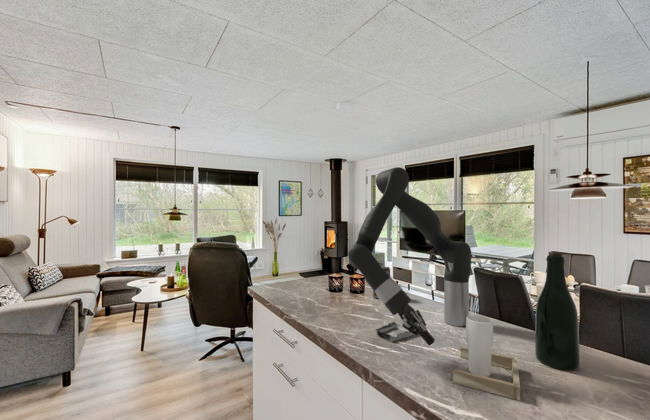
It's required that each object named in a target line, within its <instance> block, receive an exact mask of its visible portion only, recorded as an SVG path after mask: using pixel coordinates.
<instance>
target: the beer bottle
mask: <svg viewBox="0 0 650 420" xmlns="http://www.w3.org/2000/svg"><path fill="white" fill-rule="evenodd" d="M545 260H546V278H545V282H544V285H543V288H542V290H541V292H540V295H539V296H538V298H537V300H536V301H537V302H536V305H535V322H534V324H535V326H534V327H535V328H534V329H535V330H534V331H535V332H534V352H535V353H534V355H535V358H536V359H537V360H538V362H540V363H542V364H543V365H546V366H547V367H551V368H554V369H558V370H561V371H575V370H578V369H579V368H580V362H581V361H580V359H581V358H580V357H581V356H580V355H581V354H580V334H579V331H580V330H579V316H578V310H577V305H576V302H575V300H574V298H573V296H572V295H571V292H570V289H569V287H568V284H567V279H566V271H565V270H566V269H565V267H566V265H565V263H566V259H565V256H563V252H561V251H548V254H547V256H546V259H545Z"/></svg>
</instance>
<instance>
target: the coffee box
mask: <svg viewBox="0 0 650 420" xmlns="http://www.w3.org/2000/svg"><path fill="white" fill-rule="evenodd" d="M381 267H382V268H383V269H384V270H385V271H386V272H387V274H388V275H389V276H390V277H391V268H390V267H389V266H381ZM372 296H373V297H372V298H379V297H378V296H377V294H376V293H375V291H374V290H373V289H372Z"/></svg>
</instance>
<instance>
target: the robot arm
mask: <svg viewBox="0 0 650 420" xmlns="http://www.w3.org/2000/svg"><path fill="white" fill-rule="evenodd" d="M409 183H410V175H409V174H408V172H407V171H406V170H405V169H404V168H403V167H393V168H389V169H386V170H383V171H381V172H380V173H377V175H376V177H375V184H376V188H377V189H378V192H380V193H381V194H382V196H381V197H380V199H379V200H378V202H376V203H375V204H374V207H372V208H371V210H370V211H369V212H368V214H367V215H366V217H365V219H364V220H363V222H362V225H361V227H360V228H359V231H358V234H357V235H358V236H357V239H356V241H355V244H354V245H352V246H351V247H350V249H348V250H349V251H348V254H347V255H348V261H349V263H350V266H351V267H353V268H355V269H357V270H358V271H359V272H360V273H361V274H362V276H363V278H364V280H365V281H366V282H367V285H369V287H370V288H371V289H372V291H373V290H374V291H375V293H376V294H377V296H378V297H379V299H378V300H380V302H382V304H383V305H384V306H385V307H386V308H387V310H388V311H389V313H390V314H391V315H393V316H396V315H398V316H399V318H400V319H401V320H402V322H403V323H402V325H401V326H403V327H404V328H405V329H407V330H408V331H410V332H411V333H413V334H414V335H413V336H415V337H417V336H420V337H421V339H423V341H424V342H425V343H426V344H427V345H428V346H431V345H433V344H434V343H435V341H436V339H435V337H434V336H432V334H431V333H430V332H429V331H428V329H427V323H426V321H425V320H424V317H423V316H422V314H421V312H420V310H419V309H415V308H413V307H412V306H411V305H410V302H412V299H411V297H410V296H409V295H408V294H407V293H406V292H405V291H404V290H403V288H402V287H401V286H400V285H399V284H398V282H396V281H395V280H394V279H393V278H392V277H391V275H390V276H389V275H388V274H387V272H386V271H385V270H384V269H383V268H382V267H383V266H381V265H380V263H379V262H378V260H377V259H376V257H375V256H374V255H373V253H374V249H375V246H376V244H377V242H378V240H379V238H380V236H381V233H382V232H383V229H384V226H385V225H386V222H387V220H388V219H389V217H390V215H391V213H392V211H393V210H394V208H395V207H396V208H397V209H399V211H401V213H402V214H403V215H404V216H405V217H406V218H407V219H408V220H409V221H410V223H411V224H412V225H413V226H414V228H416V229H417V230H418V231H419V232H420V233H421V234H422V235H423V237H424V238H425V239H426V240H427V241H428V242H429V243H430V244H431V245H432V246H433V249H434V250H435V251H436V252H437V254H438V255H439V257H441V259H442V260H443V261H445V262H446V263H449V264H453V265H452V269H451V270H448V271H446V272H444V275H443V276H444V277H443V278H444V280H443V281H444V282H443V284H444V286H443V287H444V288H443V289H444V295H443V298H444V299H443V300H444V302H443V305H444V306H443V307H444V310H443V311H444V317H443V318H444V323H446V324H447V325H452V326H455V327H456V326H457V327H466V317H467V316H469V315H470V300H469V299H470V295H469V294H470V287H469V286H470V283H469V281H470V276H471V271H472V250H471V246H470V245H469V243H467V242H464V241H459V240H457V241H455V240H451V239H449V237H448V236H447V235H446V234H444V232H443V231H442V225H441V224H442V223H441V221H440V220H441V219H440V218H439V216H438V215H437V214H436V212H435V211H434V210H433V209H432V208H431V207H430V205H428V204H426V203H425V202H424V201H422V200H420V199H418V198H416V197H414V196H412V195H411V194H409V193H407V192H406V190H407V189H408V186H409Z"/></svg>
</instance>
